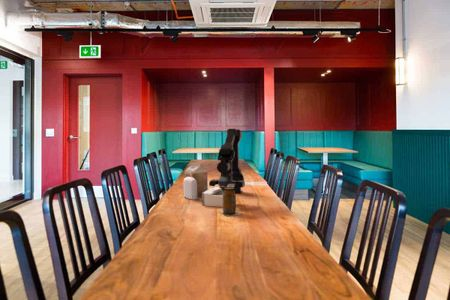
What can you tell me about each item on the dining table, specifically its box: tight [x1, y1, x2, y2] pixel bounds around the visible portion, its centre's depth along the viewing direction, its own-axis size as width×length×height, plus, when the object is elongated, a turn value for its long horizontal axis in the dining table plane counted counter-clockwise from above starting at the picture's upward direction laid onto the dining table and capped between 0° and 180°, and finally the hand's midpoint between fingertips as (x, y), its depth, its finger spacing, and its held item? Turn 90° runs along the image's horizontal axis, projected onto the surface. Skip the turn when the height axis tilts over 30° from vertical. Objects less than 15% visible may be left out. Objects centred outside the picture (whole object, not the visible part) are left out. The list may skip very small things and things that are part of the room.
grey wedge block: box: [201, 186, 224, 208], centre depth 159 cm, size 17×11×6 cm, turn 163°
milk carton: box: [183, 162, 209, 197], centre depth 179 cm, size 11×11×19 cm
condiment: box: [219, 186, 241, 217], centre depth 137 cm, size 7×8×12 cm
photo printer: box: [182, 177, 198, 201], centre depth 169 cm, size 10×4×12 cm, turn 39°
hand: (227, 199), depth 157 cm, fingers closed
